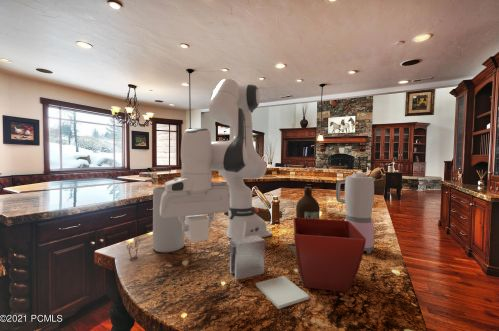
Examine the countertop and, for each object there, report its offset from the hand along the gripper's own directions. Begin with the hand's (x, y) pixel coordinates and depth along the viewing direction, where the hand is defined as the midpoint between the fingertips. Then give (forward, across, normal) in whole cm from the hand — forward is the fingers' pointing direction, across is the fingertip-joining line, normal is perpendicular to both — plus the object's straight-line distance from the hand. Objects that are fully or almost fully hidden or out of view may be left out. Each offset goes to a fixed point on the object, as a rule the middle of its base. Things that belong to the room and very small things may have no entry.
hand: (196, 229), depth 69 cm
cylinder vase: (+17, +3, -34) cm, 38 cm away
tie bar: (+9, -17, 0) cm, 19 cm away
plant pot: (+17, -37, +14) cm, 43 cm away
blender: (+17, -69, -1) cm, 71 cm away
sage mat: (+16, -21, +14) cm, 30 cm away
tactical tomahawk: (+18, -40, -6) cm, 44 cm away
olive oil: (+17, -56, -16) cm, 60 cm away
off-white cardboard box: (+2, 0, 0) cm, 2 cm away
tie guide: (+17, -17, 0) cm, 24 cm away
